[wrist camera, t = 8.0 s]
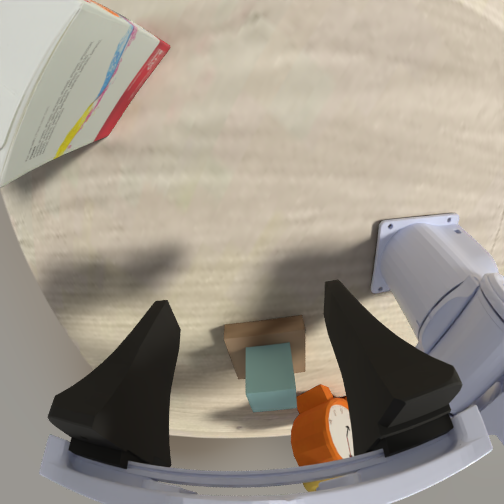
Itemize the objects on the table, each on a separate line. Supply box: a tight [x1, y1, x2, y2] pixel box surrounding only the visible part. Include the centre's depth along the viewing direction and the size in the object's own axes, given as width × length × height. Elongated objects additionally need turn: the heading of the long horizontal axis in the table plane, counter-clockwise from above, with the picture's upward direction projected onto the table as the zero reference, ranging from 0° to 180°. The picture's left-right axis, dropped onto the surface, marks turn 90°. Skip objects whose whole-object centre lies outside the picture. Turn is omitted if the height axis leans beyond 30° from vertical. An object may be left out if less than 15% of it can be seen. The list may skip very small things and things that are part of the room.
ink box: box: [0, 0, 170, 187], centre depth 9 cm, size 9×9×12 cm
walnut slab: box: [224, 315, 305, 379], centre depth 29 cm, size 8×8×2 cm
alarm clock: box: [291, 384, 354, 492], centre depth 30 cm, size 13×6×20 cm, turn 48°
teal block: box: [246, 342, 297, 412], centre depth 26 cm, size 4×4×6 cm
